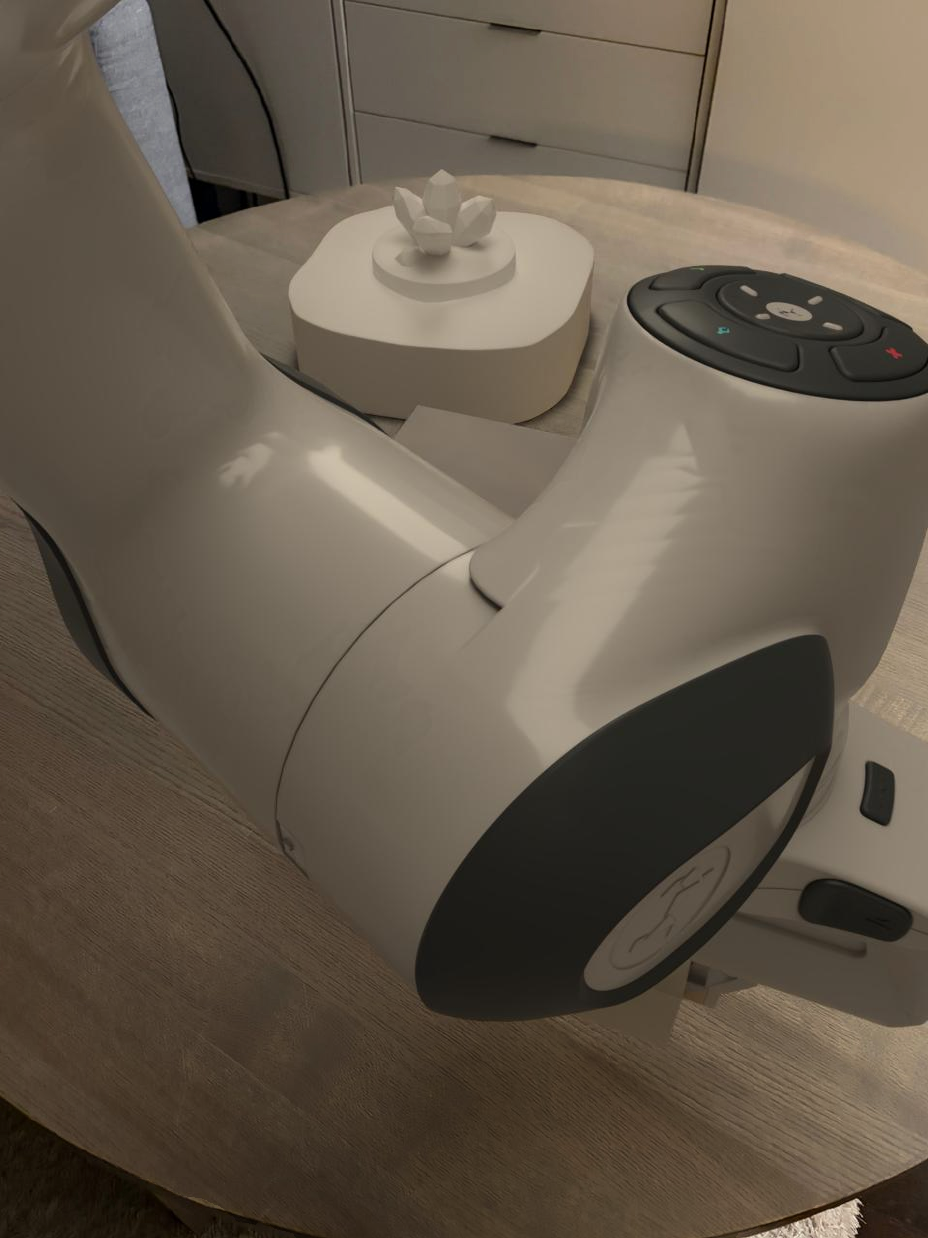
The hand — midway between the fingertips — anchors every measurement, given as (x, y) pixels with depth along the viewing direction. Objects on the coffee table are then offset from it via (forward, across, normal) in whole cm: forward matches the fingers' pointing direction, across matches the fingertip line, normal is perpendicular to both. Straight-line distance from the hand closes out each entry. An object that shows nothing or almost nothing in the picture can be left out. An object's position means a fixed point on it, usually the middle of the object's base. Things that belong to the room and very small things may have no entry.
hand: (632, 964), depth 43 cm
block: (+2, 0, 0) cm, 2 cm away
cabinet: (+10, -18, +29) cm, 36 cm away
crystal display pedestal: (+10, -32, +59) cm, 67 cm away
